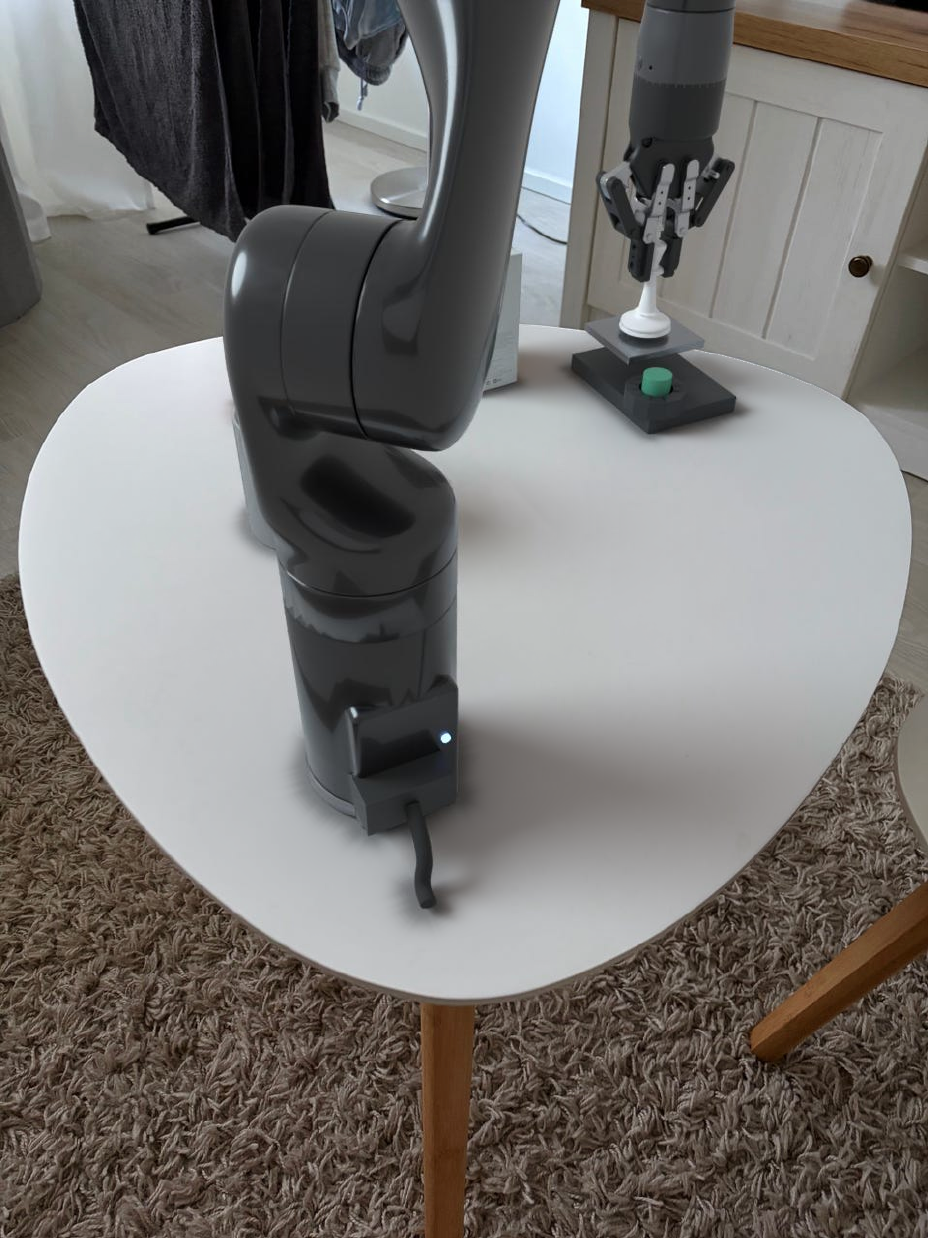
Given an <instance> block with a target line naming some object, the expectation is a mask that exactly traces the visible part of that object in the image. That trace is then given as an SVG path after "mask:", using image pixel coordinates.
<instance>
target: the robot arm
mask: <svg viewBox="0 0 928 1238" xmlns="http://www.w3.org/2000/svg"><path fill="white" fill-rule="evenodd" d="M395 3H396V5H397V8H398V11H399V13H400V16H401V20H402V22H403V24H404V27H405V29H406V32H407V34H408V38H409V40H410V42H411V47H412V49H413V52H414V55H415V58H416V62H417V64H418V68H419V71H420V74H421V75H420V76H421V79H422V83H423V88H424V91H425V96H426V99H427V103H428V109H429V115H430V124H431V148H430V162H429V163H430V164H429V170H428V171H429V172H428V178H427V185H426V190H425V196H424V199H423V200H424V201H423V204H422V207H421V210H420V212H419V214H418V216H417V218H416V220H414V219H413V220H411V219H405V218H399V217H391V216H385V215H377V214H372V213H371V214H370V213H363V212H357V211H349V210H341V209H333V208H327V207H318V206H311V205H299V204H280V205H275V206H272V207H269V208H265V209H263V210H262V211H260V212H259V213H257V214H256V215H255V216H254V217H253V218H252V219H251V220H249V222H247V224H246V225H245V226H244V227H243V229H242V230H241V232H240V234H239V235H238V237H237V239H236V241H235V243H234V245H233V247H232V250H231V252H230V256H229V258H228V263H227V267H226V272H225V276H224V283H223V290H222V301H221V304H222V305H221V306H222V307H221V309H222V310H221V331H222V343H223V351H224V358H225V359H224V360H225V365H226V366H225V368H226V372H227V377H228V383H229V388H230V393H231V398H232V403H233V407H235V411H236V415H237V419H238V424H239V428H240V432H241V436H242V440H243V445H244V449H245V454H246V458H247V463H248V467H249V472H250V476H251V481H252V486H253V491H254V495H255V500H256V504H257V507H258V510H259V513H260V515H261V518H262V520H263V522H264V523H265V525H266V527H267V528H268V529H269V531H270V532H271V533H272V535H273V536H274V541H275V546H276V550H275V553H276V560H277V566H278V572H279V579H280V586H281V593H282V602H283V608H284V615H285V622H286V628H287V635H288V641H289V648H290V649H289V650H290V655H291V660H292V669H293V675H294V681H295V688H296V695H297V701H298V708H299V714H300V721H301V727H302V732H303V739H304V745H305V763H306V769H307V774H308V779H309V781H310V784H311V785H312V787H313V789H314V791H315V792H316V793H317V795H318V796H319V797H320V798H321V799H322V800H323V801H324V802H325V803H327V804H328V805H329V806H331V807H332V808H334V809H336V810H337V811H339V812H342V813H344V814H346V815H348V816H352V817H354V818H356V820H357V821H358V823H359V825H360V827H361V828H362V829H363V830H365V832H366V835H367V836H368V837H371V836H373V835H376V834H378V833H381V832H384V831H386V830H389V829H393V828H394V827H397V826H399V825H402V824H405V823H407V824H408V827H409V832H410V834H411V838H412V842H413V847H414V855H415V869H414V875H413V883H414V892H415V895H416V899H417V901H418V904H419V906H420V908H421V909H422V910H428V909H431V908H433V907H435V906H436V905H437V898H436V896H435V893H434V891H433V888H432V887H433V886H432V874H433V868H434V855H433V847H432V843H431V838H430V837H431V836H430V834H429V830H428V827H427V823H426V820H425V817H424V816H425V815H429V814H430V813H434V812H436V811H439V810H441V809H444V808H447V807H449V806H452V805H454V804H456V796H457V795H459V706H460V705H459V704H460V703H459V701H460V700H459V695H460V691H459V689H460V688H459V686H458V583H459V582H458V581H459V580H458V578H459V576H458V575H459V574H458V573H459V572H458V571H459V566H458V565H459V541H458V540H459V511H458V509H459V508H458V503H457V497H456V493H455V491H454V488H453V487H452V485H451V483H450V481H449V480H448V478H447V477H446V476H445V474H444V473H443V472H442V471H441V470H440V469H439V468H438V466H435V464H434V463H432V462H431V461H430V460H429V459H426V458H425V457H424V456H422V455H421V454H419V453H417V452H415V451H420V452H433V453H437V452H443V451H445V450H447V449H449V448H451V447H452V446H454V445H455V444H456V443H457V442H459V441H460V439H461V438H462V437H463V436H464V434H465V433H466V432H467V430H468V429H469V426H470V425H471V423H472V421H473V419H474V417H475V416H476V413H477V410H478V408H479V405H480V403H481V400H482V398H483V394H484V392H485V391H484V388H485V385H486V381H487V378H488V374H489V370H490V365H491V361H492V357H493V352H494V347H495V342H496V336H497V331H498V325H499V320H500V314H501V309H502V303H503V297H504V291H505V285H506V279H507V272H508V266H509V260H510V254H511V248H512V247H513V241H514V235H515V229H516V224H517V223H516V222H517V216H518V211H519V205H520V198H521V192H522V185H523V180H524V175H525V169H526V168H525V167H526V163H527V156H528V151H529V150H528V149H529V144H530V138H531V132H532V127H533V121H534V117H535V111H536V106H537V102H538V98H539V97H538V96H539V91H540V87H541V82H542V78H543V73H544V69H545V66H546V61H547V58H548V54H549V50H550V45H551V41H552V37H553V34H554V33H553V32H554V29H555V25H556V21H557V17H558V12H559V8H560V4H561V0H395ZM736 5H737V0H645V2H644V6H643V12H642V17H641V21H640V25H639V29H638V36H637V40H636V41H637V42H636V51H635V62H634V70H633V75H632V76H633V78H632V86H631V95H630V104H629V114H628V129H629V142H628V144H627V146H626V149H625V151H624V153H623V156H622V162H621V163H619V164H618V165H617V166H615V167H613V169H612V170H610V171H609V172H608V171H606V170H600V171H599V172H597V174H596V175H595V183H596V186H597V188H598V191H599V194H600V197H601V199H602V202H603V204H604V207H605V211H606V213H607V216H608V217H609V220H610V223H611V225H612V228H613V229H614V231H616V232H618V233H619V234H621V235H622V236H624V237H626V238H628V239H629V240H630V242H629V243H630V244H629V252H628V261H627V270H628V273H630V275H631V277H632V278H633V279H635V280H636V281H637V282H639V283H641V284H642V283H645V282H648V281H649V280H650V275H651V268H652V261H653V254H654V247H655V243H654V242H653V240H654V238H655V234H656V229H657V224H658V221H660V220H659V219H660V217H662V218H661V227H662V228H663V230H661V235H660V237H659V239H660V240H662V241H664V242H666V244H667V248H666V250H665V252H664V254H663V256H662V259H661V261H660V262H659V265H660V266H662V267H663V268H664V273H663V274H661V275H660V276H661V277H662V278H664V279H668V278H672V277H674V275H675V271H676V270H677V268H678V267H679V265H680V260H681V253H682V246H683V240H684V237H685V236H686V235H687V234H688V232H689V230H691V229H693V228H694V227H696V228H701V227H703V226H704V224H705V223H706V221H707V219H708V218H709V216H710V214H711V212H712V211H713V209H714V207H715V205H716V203H717V202H718V200H719V199H720V196H721V195H722V193H723V191H724V189H725V188H726V186H727V184H728V182H729V180H730V179H731V177H732V175H733V173H734V171H735V170H736V164H735V162H734V161H732V160H730V159H728V158H726V157H724V156H722V155H720V154H717V153H716V152H715V144H714V139H713V136H714V135H716V133H718V130H719V126H720V121H721V115H722V107H723V103H724V97H725V91H726V85H727V79H728V73H729V68H730V62H731V55H732V49H733V43H734V32H735V29H734V28H735V15H736V14H735V13H736ZM629 181H631V183H632V185H633V187H632V193H631V198H630V200H629V197H628V194H629V193H630V191H631V188H630V183H629Z"/></svg>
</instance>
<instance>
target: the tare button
mask: <svg viewBox="0 0 928 1238" xmlns="http://www.w3.org/2000/svg"><path fill="white" fill-rule="evenodd" d="M671 382H672V373H671V372H670V371H669V370H667V369H664V368H659V367H653V368H648V369H646V370H645V371H644V373H643V381H642V388H641V391H642V392H643V393H645V394H648V395H651V396H665V395H669V393H670V388H671Z"/></svg>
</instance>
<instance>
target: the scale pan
mask: <svg viewBox="0 0 928 1238" xmlns="http://www.w3.org/2000/svg"><path fill="white" fill-rule="evenodd" d="M656 308H657V309H658V310H659V312H661V313H663V314H665V315H666V316H667V317H668V318H669V319H670V321H671V324H670V327H671V329H670V331H669V333H668V334H666V335H664V336H661V337H657V338H639V337H635V336H631V335H629V334H626V333H625V332H623V331H622V330H621V329H620V327H619V323H620V319H621V316H622V315H623V314H621V315H616V316H612V317H611V316H610V317H606V318H602V319H597V320H593V321H589V322H588V321H587V322H585V323H584V328H583V329H584V330H583V331H585V333H586V334H588V335H590V336H591V337H592V338H593V339H595V340H596V341H597V342H598V343H600V344H601V345H602V346H603V347H606V348H607V349H609V350H610V351H611V352H612V353H614V354H615V355H616V356H617V357H619V358H620V359H621V360H623V361H624V362H625V363H626V364H628V365H630V364H635V363H639V362H643V361H647V360H652V359H656V358H660V357H664V356H669V355H673V354H677V353H678V354H682V353H686V352H691V351H694V350H698V349H702V348H705V347H704V346H705V341H706V340H705V339H704V338H703V337H701V336H700V335H698V334H697V333H695V332H694V331H693V330H691V329H690V328H688V327H687V326H685V325H684V324H683V323H681V322H679V321H678V320H677V319H675V318H674V317H672V316H671V315H670V314H669V313H667V312H665V311H664V310H662V309H661V308H660V307H656Z"/></svg>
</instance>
